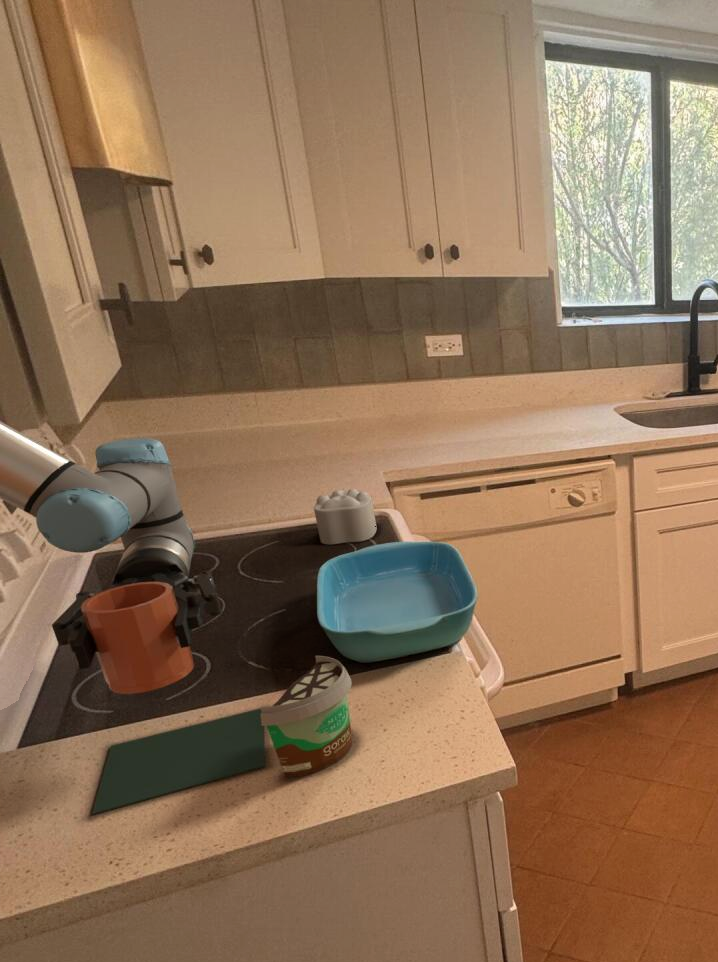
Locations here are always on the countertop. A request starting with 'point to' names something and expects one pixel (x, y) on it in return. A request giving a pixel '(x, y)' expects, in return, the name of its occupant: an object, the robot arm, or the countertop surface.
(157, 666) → the cup
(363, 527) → the lumpy-topped squat cylinder
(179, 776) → the mat
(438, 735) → the countertop surface
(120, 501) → the robot arm
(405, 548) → the casserole dish
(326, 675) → the food container
